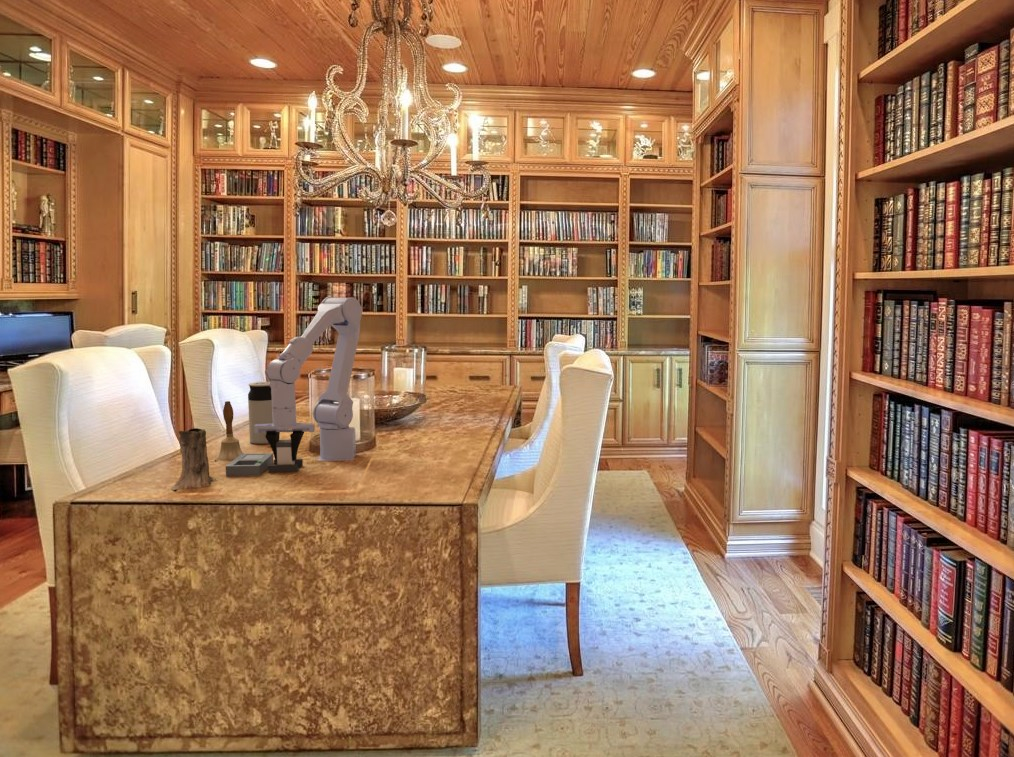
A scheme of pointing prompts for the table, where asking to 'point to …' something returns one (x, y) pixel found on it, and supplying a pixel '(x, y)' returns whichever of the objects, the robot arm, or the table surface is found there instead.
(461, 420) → the table surface
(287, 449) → the plug
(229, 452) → the hand bell
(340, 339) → the robot arm
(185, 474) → the tree stump
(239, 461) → the port panel
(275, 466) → the dark grey bracket
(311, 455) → the table surface
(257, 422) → the travel mug
